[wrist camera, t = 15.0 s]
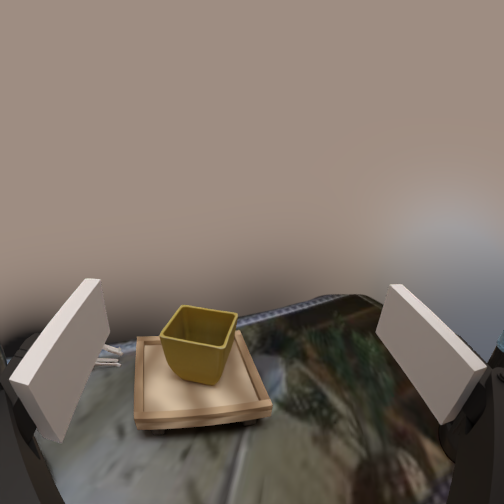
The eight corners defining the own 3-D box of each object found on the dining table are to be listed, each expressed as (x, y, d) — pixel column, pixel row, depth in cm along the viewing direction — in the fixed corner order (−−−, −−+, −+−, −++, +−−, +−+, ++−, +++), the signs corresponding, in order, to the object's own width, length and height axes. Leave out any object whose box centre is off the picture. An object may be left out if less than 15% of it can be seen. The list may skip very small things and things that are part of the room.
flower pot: (184, 349, 47) (181, 303, 44) (236, 359, 46) (238, 312, 43) (164, 384, 38) (157, 335, 35) (223, 398, 37) (224, 349, 34)
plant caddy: (238, 356, 54) (239, 330, 52) (268, 430, 38) (272, 405, 36) (141, 362, 49) (137, 336, 47) (142, 443, 33) (133, 418, 31)
